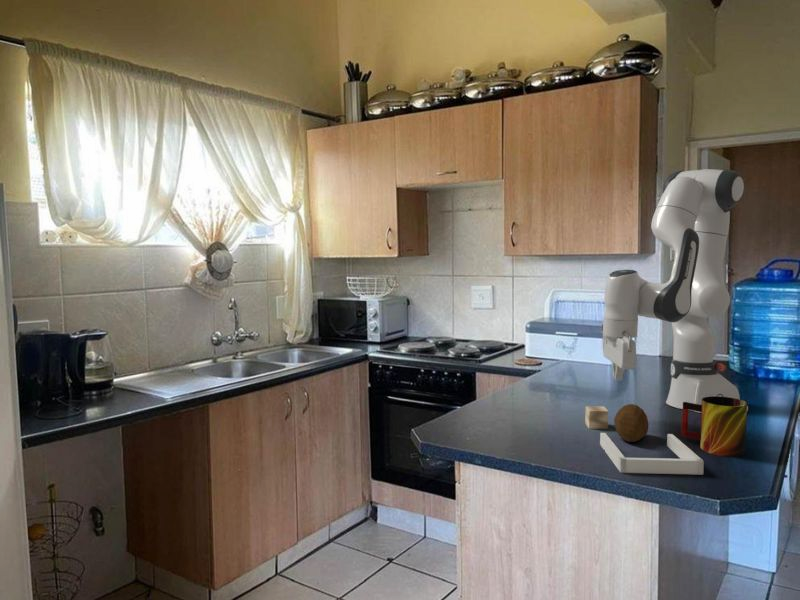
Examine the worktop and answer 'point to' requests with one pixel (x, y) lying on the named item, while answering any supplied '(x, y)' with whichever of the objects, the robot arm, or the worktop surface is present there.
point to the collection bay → (655, 459)
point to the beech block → (596, 417)
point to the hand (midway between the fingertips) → (617, 379)
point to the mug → (719, 425)
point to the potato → (631, 423)
